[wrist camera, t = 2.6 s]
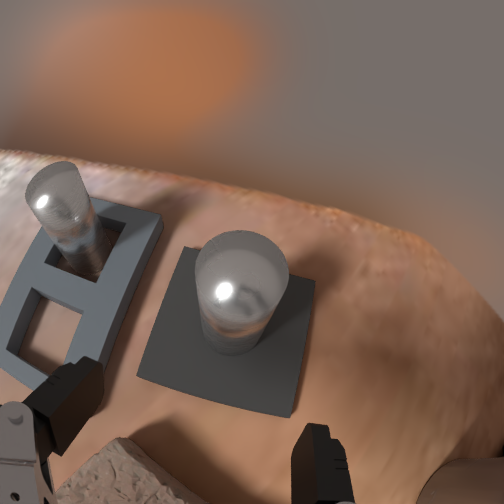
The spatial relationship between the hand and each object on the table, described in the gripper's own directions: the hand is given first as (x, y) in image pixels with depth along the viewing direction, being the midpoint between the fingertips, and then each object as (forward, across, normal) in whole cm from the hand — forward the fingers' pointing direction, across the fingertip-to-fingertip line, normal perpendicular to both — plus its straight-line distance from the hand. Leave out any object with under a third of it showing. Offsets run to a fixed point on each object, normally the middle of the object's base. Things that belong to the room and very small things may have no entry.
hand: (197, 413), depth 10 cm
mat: (+14, 0, +4) cm, 14 cm away
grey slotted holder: (+13, +15, +5) cm, 20 cm away
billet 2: (+13, 0, +3) cm, 13 cm away
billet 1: (+16, +15, +2) cm, 22 cm away
